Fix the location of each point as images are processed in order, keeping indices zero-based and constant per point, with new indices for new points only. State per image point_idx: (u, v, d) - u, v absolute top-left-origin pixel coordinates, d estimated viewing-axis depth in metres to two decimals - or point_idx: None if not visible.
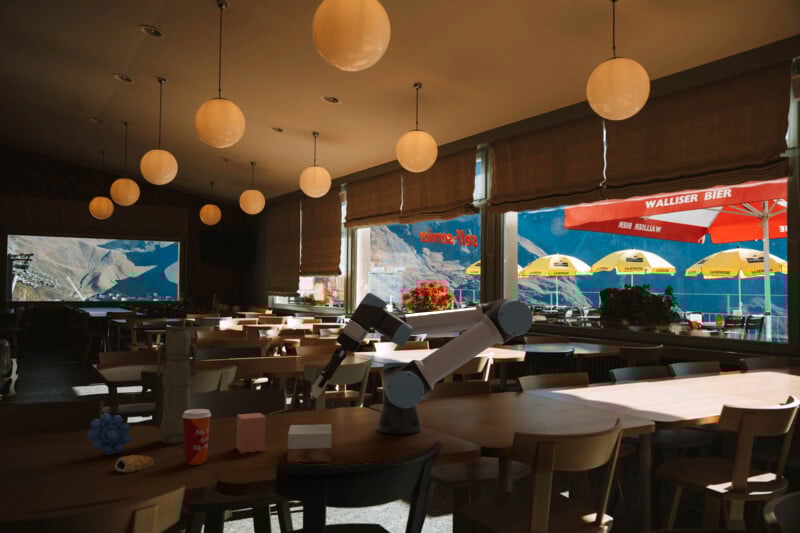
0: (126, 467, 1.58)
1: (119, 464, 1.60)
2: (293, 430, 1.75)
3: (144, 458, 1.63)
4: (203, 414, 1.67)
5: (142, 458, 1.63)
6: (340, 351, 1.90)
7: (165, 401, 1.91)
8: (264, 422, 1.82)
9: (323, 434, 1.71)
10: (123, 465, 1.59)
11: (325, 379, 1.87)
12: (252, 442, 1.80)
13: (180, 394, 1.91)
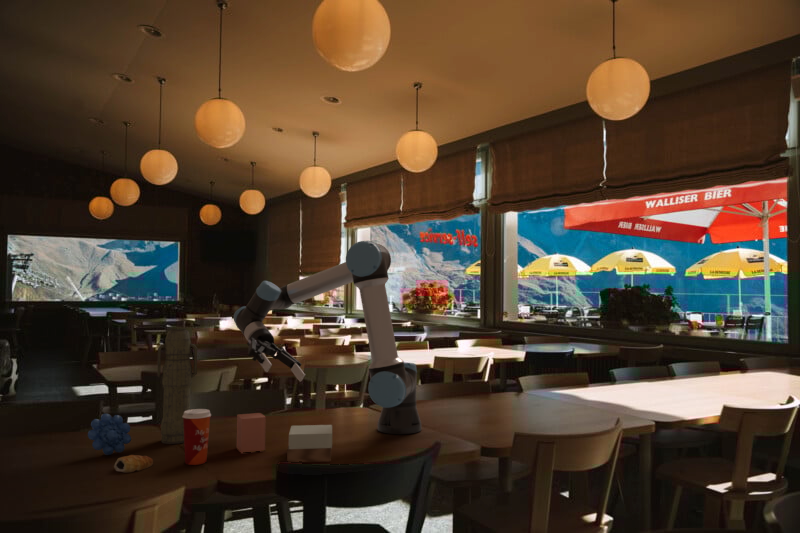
0: (125, 467, 1.58)
1: (118, 464, 1.60)
2: (294, 430, 1.75)
3: (143, 458, 1.63)
4: (203, 414, 1.67)
5: (141, 458, 1.63)
6: (248, 342, 1.95)
7: (165, 401, 1.91)
8: (264, 422, 1.82)
9: (324, 434, 1.71)
10: (123, 465, 1.59)
11: (256, 355, 1.87)
12: (252, 442, 1.80)
13: (180, 394, 1.91)
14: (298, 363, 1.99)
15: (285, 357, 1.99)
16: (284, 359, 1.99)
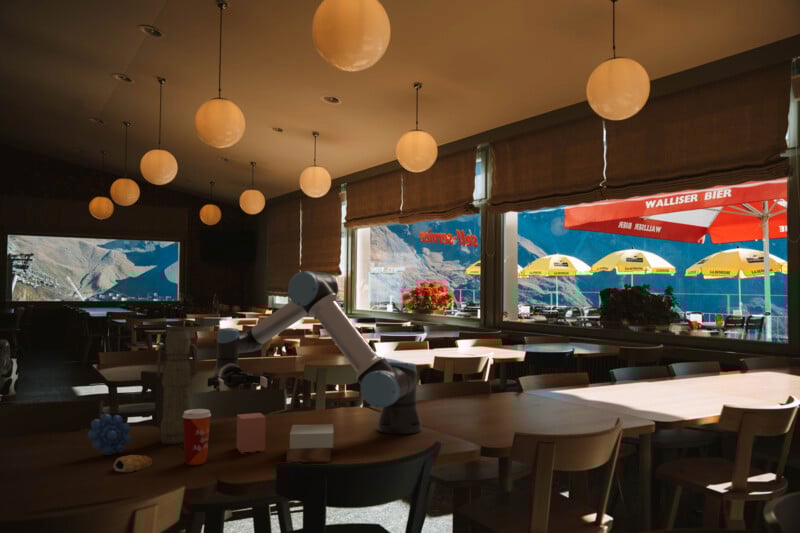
0: (124, 467, 1.58)
1: (117, 464, 1.60)
2: (295, 430, 1.75)
3: (143, 458, 1.63)
4: (203, 414, 1.67)
5: (141, 458, 1.63)
6: None
7: (165, 401, 1.91)
8: (264, 422, 1.82)
9: (325, 434, 1.71)
10: (122, 464, 1.59)
11: (214, 382, 1.95)
12: (252, 442, 1.80)
13: (180, 394, 1.91)
14: (264, 375, 2.02)
15: (252, 377, 2.04)
16: (252, 379, 2.04)
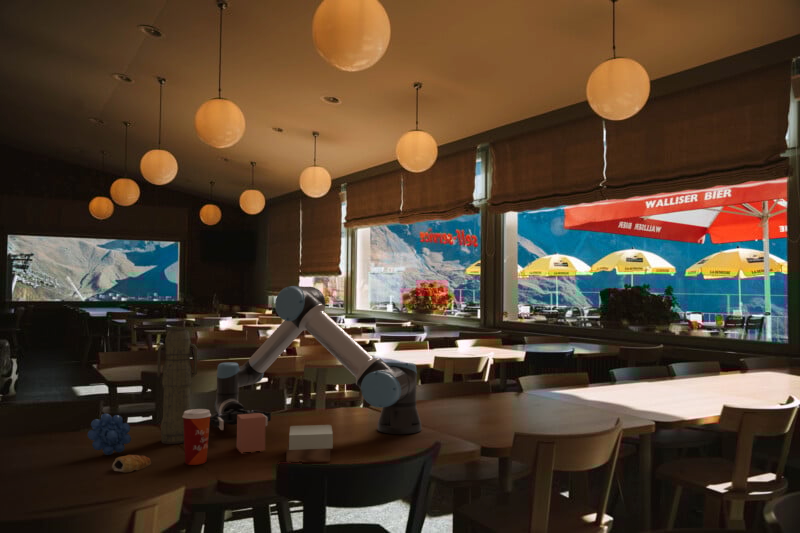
0: (124, 467, 1.58)
1: (116, 464, 1.60)
2: (294, 431, 1.74)
3: (141, 458, 1.64)
4: (203, 414, 1.67)
5: (139, 458, 1.63)
6: None
7: (165, 401, 1.91)
8: (264, 422, 1.82)
9: (324, 435, 1.71)
10: (121, 464, 1.60)
11: (213, 421, 1.93)
12: (252, 442, 1.80)
13: (180, 394, 1.91)
14: (265, 413, 2.01)
15: None
16: None
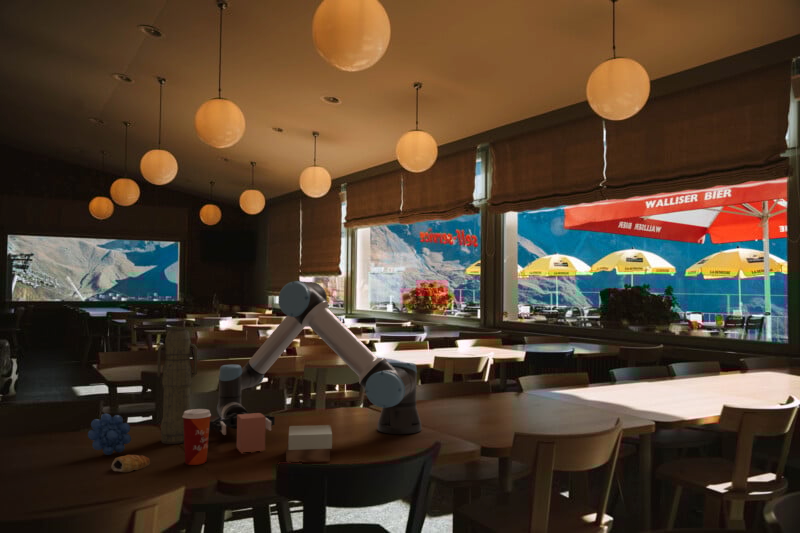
0: (123, 467, 1.58)
1: (116, 464, 1.60)
2: (293, 431, 1.74)
3: (141, 458, 1.64)
4: (203, 414, 1.67)
5: (139, 458, 1.63)
6: None
7: (165, 401, 1.91)
8: (264, 422, 1.82)
9: (324, 435, 1.71)
10: (120, 464, 1.60)
11: (216, 425, 1.87)
12: (252, 442, 1.80)
13: (180, 394, 1.91)
14: (268, 417, 1.95)
15: None
16: None
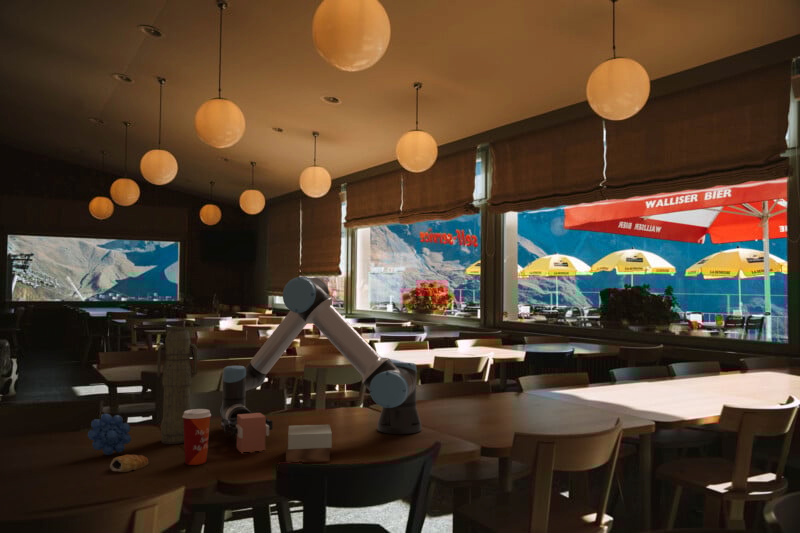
0: (122, 466, 1.59)
1: (114, 464, 1.60)
2: (292, 430, 1.74)
3: (139, 457, 1.64)
4: (203, 414, 1.67)
5: (137, 457, 1.63)
6: (221, 425, 1.90)
7: (165, 401, 1.91)
8: (264, 422, 1.82)
9: (323, 434, 1.71)
10: (119, 464, 1.60)
11: (231, 429, 1.82)
12: (252, 442, 1.80)
13: (180, 394, 1.91)
14: None
15: None
16: None
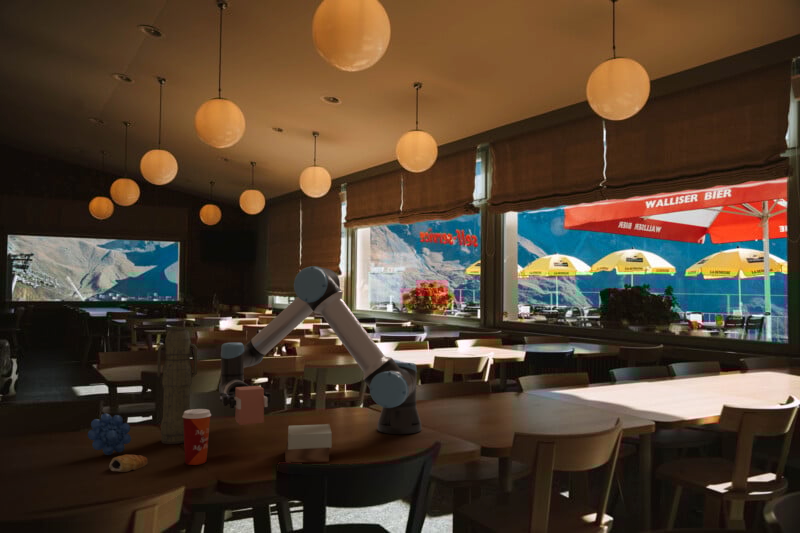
0: (121, 466, 1.59)
1: (114, 464, 1.60)
2: (292, 430, 1.74)
3: (138, 457, 1.64)
4: (203, 414, 1.67)
5: (137, 457, 1.63)
6: (220, 399, 1.91)
7: (165, 401, 1.91)
8: (262, 394, 1.82)
9: (323, 434, 1.71)
10: (118, 464, 1.60)
11: (230, 401, 1.83)
12: (250, 413, 1.80)
13: (180, 394, 1.91)
14: (264, 393, 1.87)
15: None
16: None
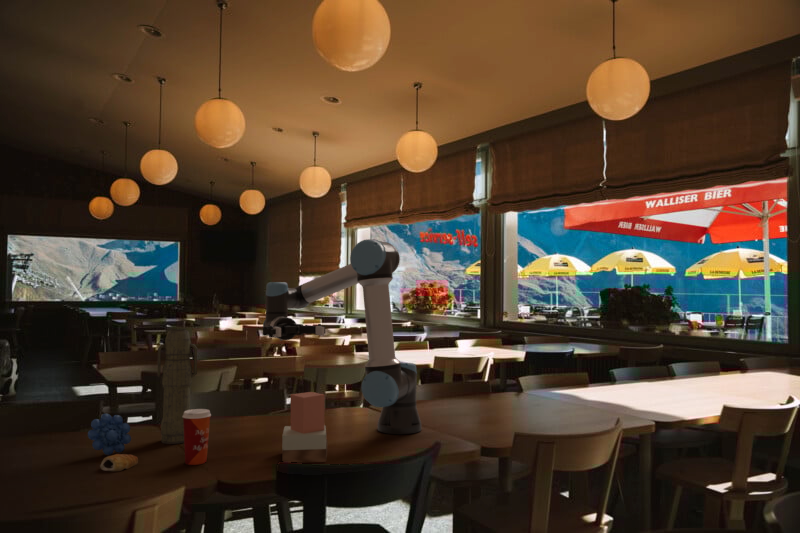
0: (114, 466, 1.59)
1: (105, 464, 1.61)
2: (287, 431, 1.74)
3: (130, 456, 1.65)
4: (203, 414, 1.67)
5: (128, 456, 1.64)
6: None
7: (165, 401, 1.91)
8: (323, 400, 1.76)
9: (318, 435, 1.70)
10: (111, 464, 1.60)
11: (269, 330, 1.88)
12: (313, 421, 1.73)
13: (180, 394, 1.91)
14: (320, 325, 1.96)
15: (307, 327, 1.97)
16: (307, 330, 1.97)
